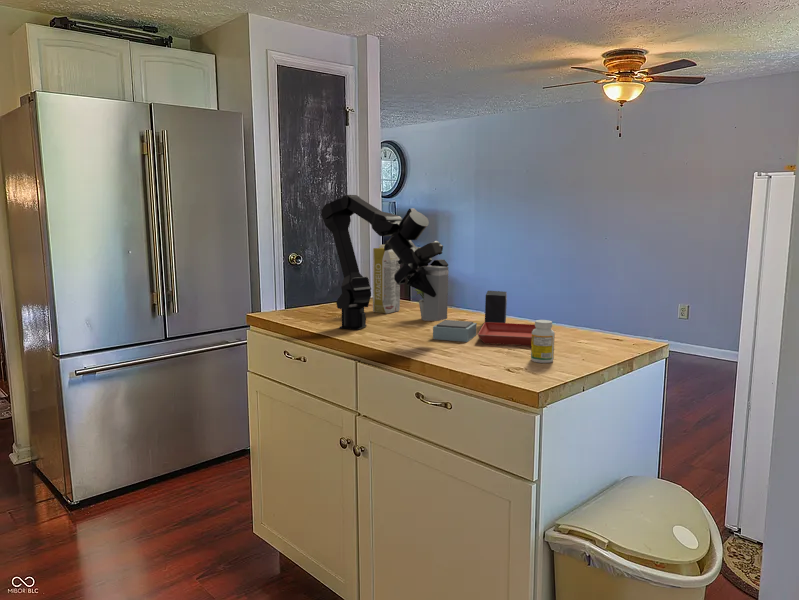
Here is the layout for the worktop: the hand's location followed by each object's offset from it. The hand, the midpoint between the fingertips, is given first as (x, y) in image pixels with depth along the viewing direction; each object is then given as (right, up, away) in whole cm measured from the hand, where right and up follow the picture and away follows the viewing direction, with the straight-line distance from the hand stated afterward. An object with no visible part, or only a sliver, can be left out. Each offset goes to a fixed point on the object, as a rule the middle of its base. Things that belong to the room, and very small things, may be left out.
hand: (440, 295), depth 160 cm
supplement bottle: (+23, -16, -15) cm, 32 cm away
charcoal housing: (-1, -6, +2) cm, 7 cm away
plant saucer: (+21, -13, +9) cm, 26 cm away
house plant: (-2, -8, +40) cm, 41 cm away
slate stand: (+5, -12, +12) cm, 17 cm away
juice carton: (-16, -6, +56) cm, 58 cm away
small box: (+19, -10, +30) cm, 37 cm away
